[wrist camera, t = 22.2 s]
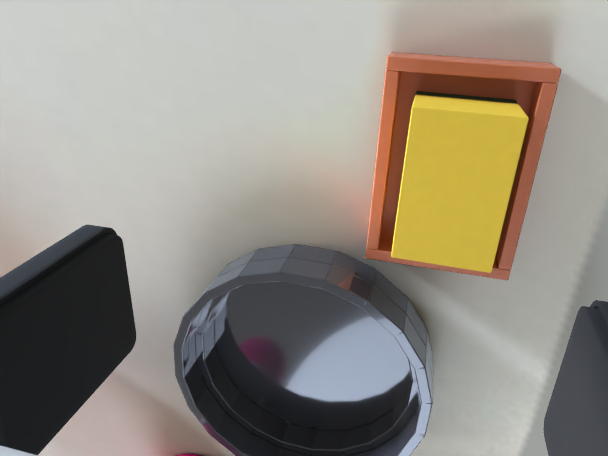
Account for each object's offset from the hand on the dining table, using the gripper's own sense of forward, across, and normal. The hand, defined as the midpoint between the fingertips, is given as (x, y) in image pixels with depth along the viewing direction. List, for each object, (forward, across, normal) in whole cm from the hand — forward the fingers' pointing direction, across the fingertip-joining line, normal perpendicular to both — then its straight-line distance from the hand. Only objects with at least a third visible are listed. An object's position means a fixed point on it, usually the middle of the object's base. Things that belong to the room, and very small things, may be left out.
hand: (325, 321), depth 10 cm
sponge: (+16, -3, +2) cm, 17 cm away
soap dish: (+17, -3, +2) cm, 17 cm away
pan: (+17, +4, +15) cm, 23 cm away
